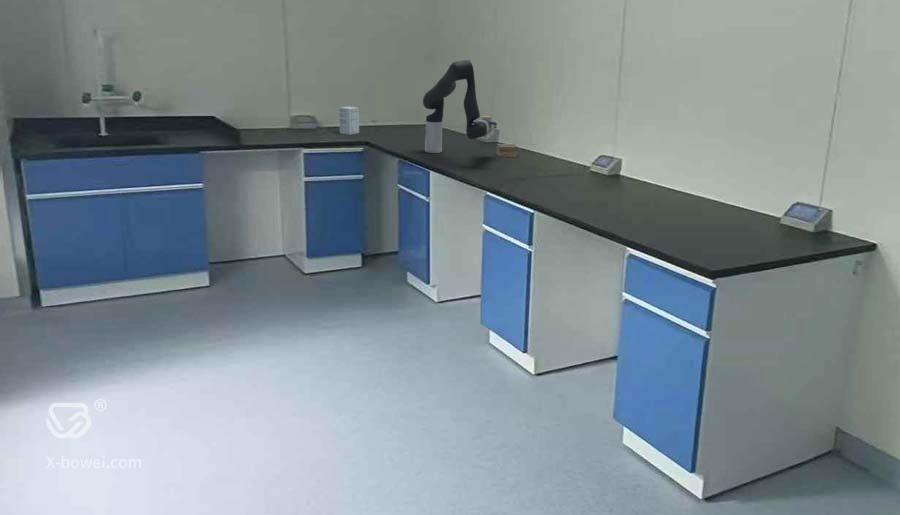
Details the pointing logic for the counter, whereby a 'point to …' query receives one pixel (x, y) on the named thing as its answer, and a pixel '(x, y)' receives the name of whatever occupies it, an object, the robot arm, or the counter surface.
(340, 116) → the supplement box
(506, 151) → the walnut base
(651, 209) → the counter surface
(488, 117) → the oak block
